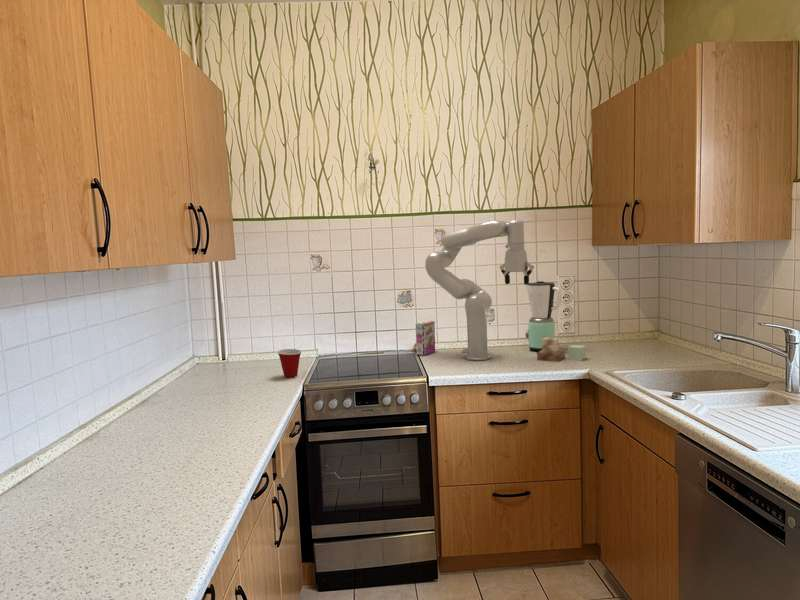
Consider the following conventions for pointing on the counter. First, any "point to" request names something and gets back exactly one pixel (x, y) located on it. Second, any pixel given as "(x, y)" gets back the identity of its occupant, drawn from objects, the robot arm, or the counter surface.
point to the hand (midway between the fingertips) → (516, 284)
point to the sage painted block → (577, 352)
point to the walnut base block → (551, 355)
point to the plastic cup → (289, 361)
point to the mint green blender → (541, 312)
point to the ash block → (550, 344)
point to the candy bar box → (425, 338)
